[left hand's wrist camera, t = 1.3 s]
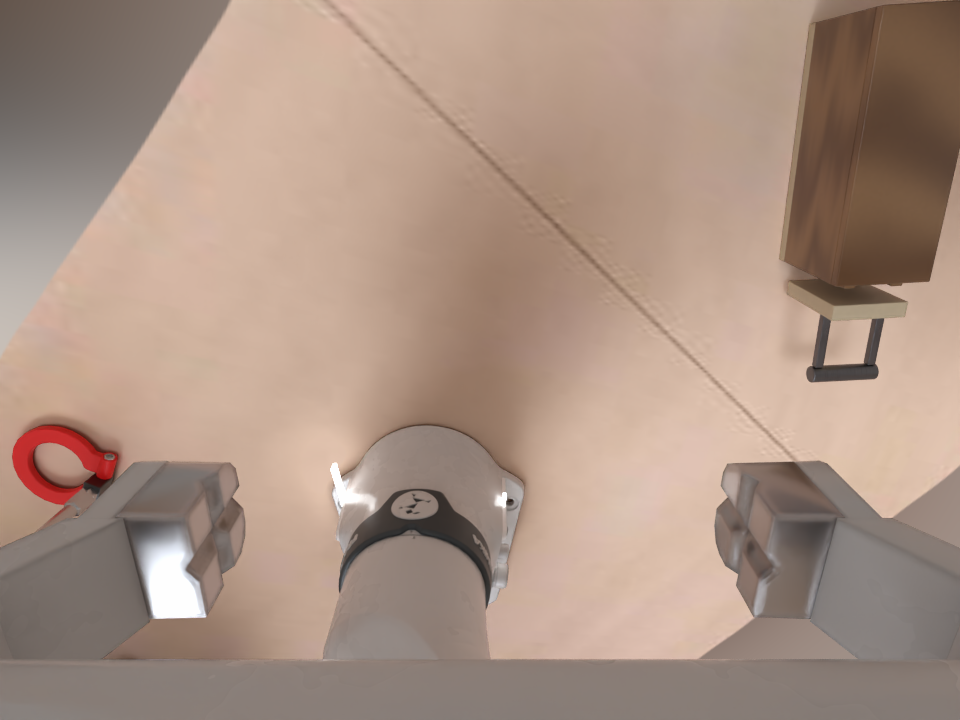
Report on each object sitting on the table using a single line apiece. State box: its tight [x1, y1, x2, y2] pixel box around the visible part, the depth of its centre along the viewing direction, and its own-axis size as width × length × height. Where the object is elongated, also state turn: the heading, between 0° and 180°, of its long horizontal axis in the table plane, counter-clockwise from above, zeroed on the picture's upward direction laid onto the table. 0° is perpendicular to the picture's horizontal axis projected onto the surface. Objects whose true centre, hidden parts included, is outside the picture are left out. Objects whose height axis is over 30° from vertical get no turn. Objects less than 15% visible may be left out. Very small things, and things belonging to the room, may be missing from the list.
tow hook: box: [12, 425, 118, 532], centre depth 53 cm, size 8×13×9 cm
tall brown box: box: [779, 0, 960, 287], centre depth 44 cm, size 18×7×9 cm, turn 3°
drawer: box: [787, 279, 908, 382], centre depth 47 cm, size 22×5×7 cm, turn 3°
